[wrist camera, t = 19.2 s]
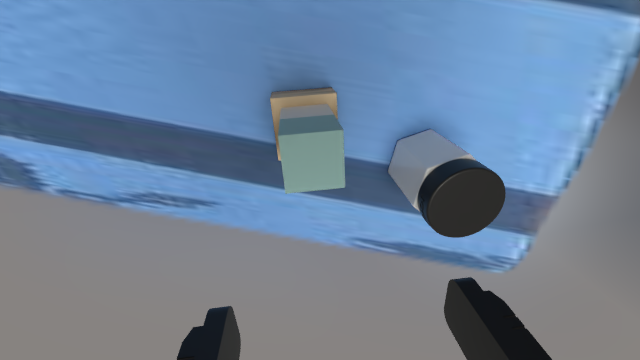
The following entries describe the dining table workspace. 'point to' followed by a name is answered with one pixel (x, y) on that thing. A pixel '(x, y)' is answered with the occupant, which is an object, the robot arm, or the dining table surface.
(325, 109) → the cream cube
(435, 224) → the jar
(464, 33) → the dining table surface
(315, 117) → the teal cube
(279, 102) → the base block
